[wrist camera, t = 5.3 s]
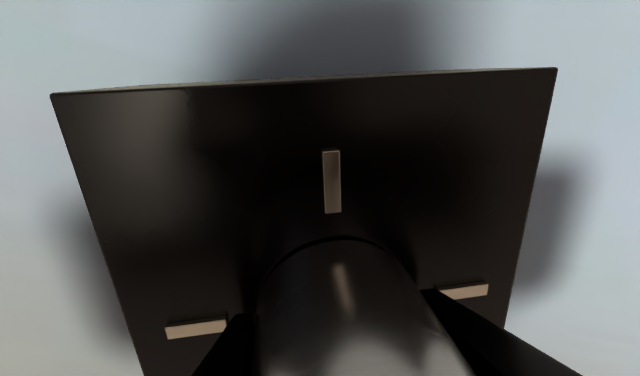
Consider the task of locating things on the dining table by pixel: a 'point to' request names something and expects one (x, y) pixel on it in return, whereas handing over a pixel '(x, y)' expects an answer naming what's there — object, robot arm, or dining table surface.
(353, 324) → the knob
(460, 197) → the panel
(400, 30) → the dining table surface
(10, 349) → the dining table surface
